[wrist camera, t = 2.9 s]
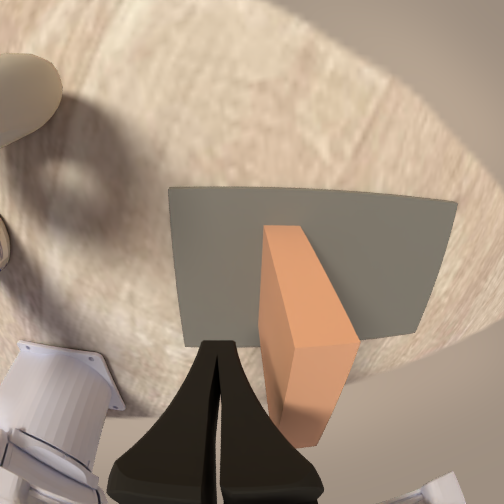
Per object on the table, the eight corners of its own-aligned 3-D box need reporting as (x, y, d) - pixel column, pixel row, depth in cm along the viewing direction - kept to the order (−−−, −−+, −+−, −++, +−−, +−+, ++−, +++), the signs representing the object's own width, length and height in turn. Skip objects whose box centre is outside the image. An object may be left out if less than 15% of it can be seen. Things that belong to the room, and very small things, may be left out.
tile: (258, 325, 19) (273, 450, 11) (263, 225, 16) (295, 348, 8) (288, 324, 19) (316, 446, 11) (300, 225, 16) (360, 342, 8)
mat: (185, 342, 20) (184, 346, 20) (169, 187, 15) (168, 189, 15) (412, 329, 21) (414, 332, 21) (454, 201, 16) (457, 203, 16)
